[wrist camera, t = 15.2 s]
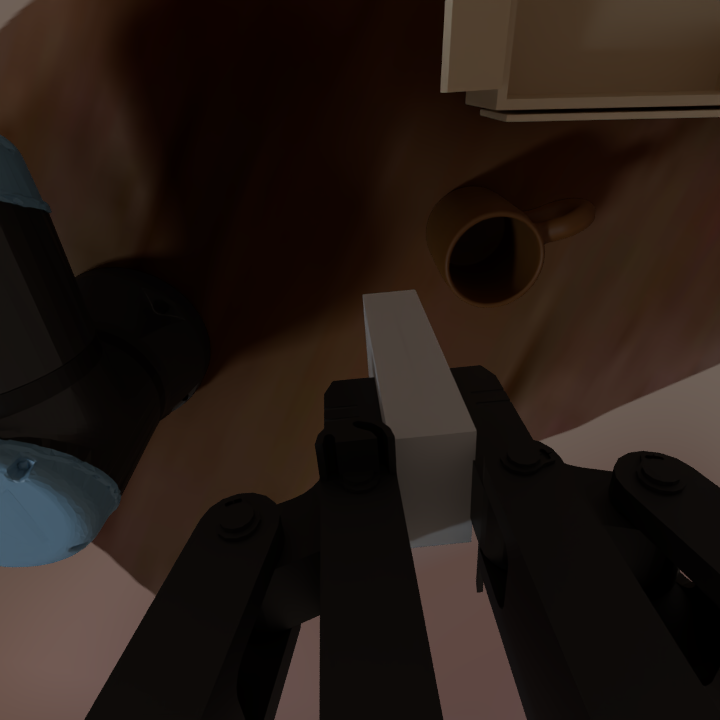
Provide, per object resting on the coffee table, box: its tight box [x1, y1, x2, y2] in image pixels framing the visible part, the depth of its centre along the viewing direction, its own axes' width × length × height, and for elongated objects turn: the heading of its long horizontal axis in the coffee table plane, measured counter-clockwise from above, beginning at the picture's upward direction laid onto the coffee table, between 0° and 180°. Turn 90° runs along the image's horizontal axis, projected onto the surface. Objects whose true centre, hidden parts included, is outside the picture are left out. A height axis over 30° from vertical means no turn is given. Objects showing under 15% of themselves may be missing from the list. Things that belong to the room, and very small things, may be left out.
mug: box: [426, 186, 595, 308], centre depth 40 cm, size 12×8×9 cm, turn 114°
